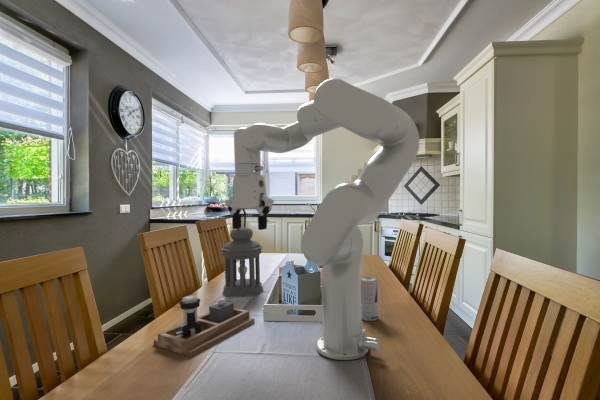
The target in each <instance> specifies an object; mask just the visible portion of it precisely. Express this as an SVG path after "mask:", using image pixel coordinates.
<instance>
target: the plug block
mask: <svg viewBox="0 0 600 400" xmlns="http://www.w3.org/2000/svg"><path fill="white" fill-rule="evenodd" d="M234 308H235V303H234V302H231V301H227V300H225V298H219V299H217V303H215V304H212V305H210V306H209V307H208V312H209V321H211V322H216V323H221V322H223V321H225V320H227V319H230V318H232V317H234Z"/></svg>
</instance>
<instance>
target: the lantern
mask: <svg viewBox="0 0 600 400" xmlns="http://www.w3.org/2000/svg"><path fill="white" fill-rule="evenodd" d="M241 211H242V212H243V227H242V226H241V228H237V229H233V228H232V230H230V232H229V233H230V234H229V236H230V238H231V239H232V241H229V242H228V241H227V243H225V244H224V245H223V246H221V248H220V251H221V255H222V256H224V278H225V280H224V281H225V284H224V285H223V289H222V295H223V296H225V297H228V298H247V297H248V298H249V297H254V296H257V295H259V294H263V292H264V286H263V283H262V282H261V276H260V275H261V274H260V272H261V270H260V255H261V254H262V249H263V245H261V244H260V242H258V241H256V240H252V238H253V235H254V234H253V233H254V232H253V230H252V229H251V228H249V227H246V223H247V212H246V209H242V210H241ZM237 260H238V261H239V266H238V267H237ZM246 260H248V265H249V266H248V268H249V269H248V268H247V266H246ZM237 268H238V269H237ZM248 270H249V278H246V274H247V272H248ZM237 271H238V272H237ZM237 273H239V279H237V277H238V276H237Z"/></svg>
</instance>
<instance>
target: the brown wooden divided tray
mask: <svg viewBox="0 0 600 400" xmlns="http://www.w3.org/2000/svg"><path fill="white" fill-rule="evenodd" d="M197 320H198V323H200V324H201V332H200V333H198V334H195V335H193V336H188V337H185V338H184V337H183V336H180V337H176V336H178V335H181V333H178V334H176V333H177V332H179V331H181V326H183V323H184V322H182V323H180V324H178V325H176V326H174V327H171V328H169V329H166V330H164V331H161V332H159V333H157V338H156V339H154V340H153V345H154V346H156V347H159V348H163V349H165V350H169V351H170V352H173V353H178V354H180V355H183V356H186V357H189V358H192V357H194V356H196V355H197V354H199V353H201V352H203V351H205V350H207V349H208V348H211V347H212V346H214V345H215V344H216V345H217V344H218V343H220V342H221V341H223V340H225V339H227V338H229V337H230V336H232V335H234V334H236V333H238V332H239V331H241V330H243V329H246V328H247V327H249V326H251V325H253V324H255V318H253V317H251V316H250V310H245V309H240V308H235V307H234V317H232V318H230V319H227V320H225V321H223V322H221V323H216V322H211V321H209V311H208V312H207V313H204V314H202V315H200V316H197Z"/></svg>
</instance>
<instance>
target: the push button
mask: <svg viewBox="0 0 600 400" xmlns="http://www.w3.org/2000/svg"><path fill="white" fill-rule="evenodd" d="M200 302H201V299H200V298H198V297H197V295H194V294H193V295H185V296H183V297H182V299H181V300H180V301H179V302H178V303H179V305H180V308H181V310H182V312H183V315H182V316H183V318H182V319H183V322H182V323H183V326H181V331H179V332H177V333H176V334H178V333H181V335H178V336H176V337H180V336H183V337H184V338H185V337H188V336H193V335H195V334H198V333H200V332H201V324H200V323H198V320H197V317H198V308H199V307H200Z"/></svg>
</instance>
